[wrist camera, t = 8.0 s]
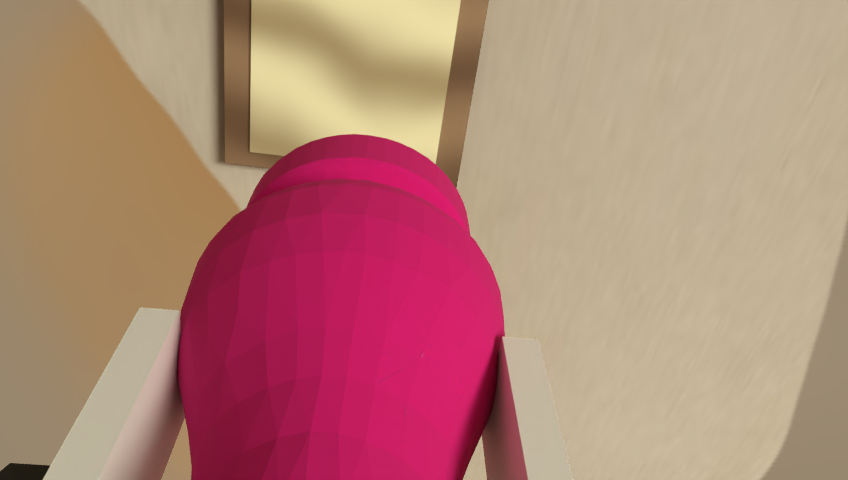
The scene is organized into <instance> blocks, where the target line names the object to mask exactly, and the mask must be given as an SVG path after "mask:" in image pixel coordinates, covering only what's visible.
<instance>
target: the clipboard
mask: <svg viewBox="0 0 848 480" xmlns="http://www.w3.org/2000/svg"><path fill="white" fill-rule="evenodd" d="M488 2H489V0H224V104H225V163H228V164H237V165H245V166H254V167H263V168H271V167H272V166H273V165H274V164H275V163H276V162H277V161H278V160H280V159H281V158H282V157H284V156H285V155H287V154H288V153H290V152H291V151H293V150H294V149H295V148H297V147H300V146H302V145H304V144H306V143H309V142H311V141H314V140H318V139H321V138H325V137H330V136H336V135H345V134H361V135H371V136H376V137H382V138H387V139H390V140H393V141H396V142H399V143H401V144H404V145H406V146H408V147H410V148H413V149H414V150H416V151H418V152H419V153H421V154H422V155H424V156H426V157H427V158H429V159H430V160H431V161H432V162H433V163H434V164H436V165H437V166H438V167H439V168H440V169H441V170H442V171H443V172H444V173H445V174H446V175H447V176H448V178H449V179H450V181H451V182H452V183H453V185H454V186H455V188H456V187H457V181H458V175H459V169H460V164H461V158H462V152H463V146H464V140H465V135H466V129H467V123H468V117H469V112H470V106H471V100H472V94H473V89H474V83H475V77H476V71H477V65H478V60H479V54H480V48H481V42H482V37H483V31H484V25H485V19H486V14H487V8H488Z"/></svg>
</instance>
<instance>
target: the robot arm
mask: <svg viewBox="0 0 848 480" xmlns="http://www.w3.org/2000/svg"><path fill="white" fill-rule="evenodd" d="M180 335H181V328H180V315H179V310H167V309H153V308H142V307H140V308H139V310H138V312H137V314H136V315H135V317H134V319H133V321H132V323H131V324H130V326H129V328H128V330H127V331H126V333H125V335H124V337H123V338H122V340H121V342H120V344H119V346H118V347H117V349H116V351H115V353H114V354H113V356H112V358H111V360H110V362H109V363H108V365H107V367H106V368H105V370H104V372H103V374H102V376H101V377H100V379H99V381H98V383H97V385H96V386H95V388H94V390H93V392H92V393H91V395H90V397H89V399H88V400H87V402H86V404H85V406H84V407H83V409H82V411H81V413H80V415H79V416H78V418H77V420H76V422H75V424H74V425H73V427H72V429H71V430H70V432H69V434H68V436H67V438H66V439H65V441H64V443H63V444H62V446H61V448H60V450H59V452H58V453H57V455H56V457H55V459H54V461H53V462H52V464H51V466H47V465H31V464H15V463H10V464H9V465H7V466H6V467H5V468H4V469H3V470H1V471H0V480H161V478H162V476H163V473H164V470H165V467H166V465H167V462H168V460H169V457H170V455H171V452H172V449H173V447H174V444H175V441H176V439H177V436H178V434H179V431H180V429H181V426H182V423H183V421H184V418H185V414H184V409H183V404H182V399H181V394H180V389H179V383H178V370H177V363H178V352H179V343H180ZM482 440H483V448H484V457H485V465H486V474H487V480H574V479H573V475H572V471H571V467H570V463H569V459H568V455H567V451H566V447H565V443H564V439H563V435H562V431H561V427H560V423H559V419H558V415H557V411H556V407H555V403H554V399H553V395H552V391H551V387H550V383H549V379H548V375H547V371H546V367H545V363H544V359H543V355H542V351H541V347H540V343H539V339H527V338H515V337H503V336H502V340H501V345H500V349H499V354H498V374H497V385H496V391H495V397H494V403H493V407H492V411H491V415H490V417H489V419H488V422H487V424H486V426H485V428H484V430H483V433H482Z"/></svg>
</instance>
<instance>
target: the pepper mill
mask: <svg viewBox="0 0 848 480" xmlns="http://www.w3.org/2000/svg"><path fill="white" fill-rule="evenodd" d="M180 328H181V335H180V343H179V352H178V363H177V370H178V383H179V389H180V394H181V399H182V404H183V409H184V414H185V419H186V424H187V428H188V435H189V445H190V454H191V464H192V476H191V480H463V477H464V475H465V472H466V469H467V467H468V464H469V462H470V460H471V457H472V455H473V453H474V451H475V448H476V446H477V444H478V442H479V439H480V437H481V435H482V433H483V430H484V428H485V426H486V424H487V422H488V419H489V417H490V415H491V411H492V407H493V403H494V397H495V391H496V385H497V374H498V354H499V349H500V345H501V340H502V336H503V337H505V332H504V316H503V309H502V301H501V294H500V289H499V287H498V284H497V281H496V278H495V275H494V273H493V270H492V268H491V266H490V264H489V262H488V261H487V259H486V257H485V256H484V254H483V253H482V251H481V249H480V248H479V246H478V244H477V243H476V241H475V240H474V239H473V238H472V237H471V236H470V230H469V224H468V218H467V213H466V210H465V207H464V204H463V201H462V199H461V197H460V195H459V193H458V191H457V189H456V188H455V186H454V185H453V183H452V182H451V181H450V179H449V178H448V176H447V175H446V174H445V173H444V172H443V171H442V170H441V169H440V168H439V167H438V166H437V165H436V164H434V163H433V162H432V161H431V160H430V159H429V158H427V157H426V156H424V155H422V154H421V153H419V152H418V151H416V150H414V149H413V148H410V147H408V146H406V145H404V144H401V143H399V142H396V141H393V140H390V139H387V138H382V137H376V136H371V135H361V134H345V135H336V136H330V137H325V138H321V139H318V140H314V141H311V142H309V143H306V144H304V145H302V146H300V147H297V148H295V149H294V150H293V151H291V152H290V153H288V154H287V155H285V156H284V157H282V158H281V159H280V160H278V161H277V162H276V163H275V164H274V165H273V166H272V167H271V168H270V169H269V170H268V171H267V172H266V173H265V174H264V175H263V177H262V178H261V180H260V182H259V183H258V185H257V186H256V188H255V190H254V192H253V194H252V196H251V198H250V201H249V203H248V205H247V208H246V209H244V210H243V211H241V212H240V213H238V214H237V215H235V216H234V217H233V218H232V219H231V220H230V221H229V222H228V223H227V224H226V225H225V226H224V227H223V228H222V229H221V230H220V231H219V232H218V233H217V235H216V236H215V237H214V238H213V239H212V240H211V241H210V243H209V244H208V246H207V248H206V249H205V251H204V252H203V254H202V256H201V258H200V259H199V261H198V263H197V266H196V269H195V271H194V274H193V277H192V280H191V283H190V286H189V289H188V292H187V295H186V298H185V300H184V303H183V306H182V309H181V316H180Z"/></svg>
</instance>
